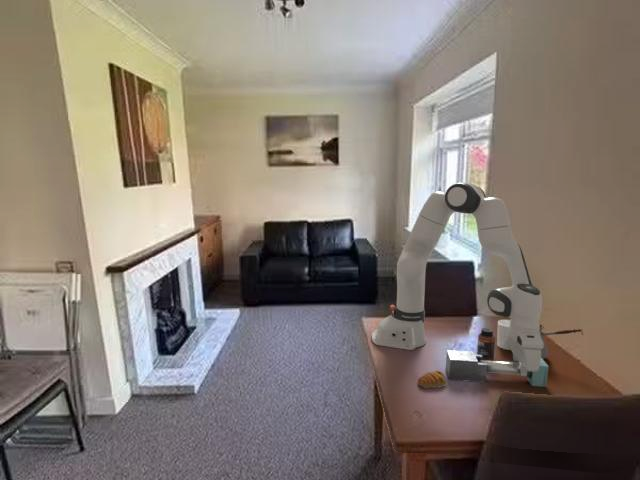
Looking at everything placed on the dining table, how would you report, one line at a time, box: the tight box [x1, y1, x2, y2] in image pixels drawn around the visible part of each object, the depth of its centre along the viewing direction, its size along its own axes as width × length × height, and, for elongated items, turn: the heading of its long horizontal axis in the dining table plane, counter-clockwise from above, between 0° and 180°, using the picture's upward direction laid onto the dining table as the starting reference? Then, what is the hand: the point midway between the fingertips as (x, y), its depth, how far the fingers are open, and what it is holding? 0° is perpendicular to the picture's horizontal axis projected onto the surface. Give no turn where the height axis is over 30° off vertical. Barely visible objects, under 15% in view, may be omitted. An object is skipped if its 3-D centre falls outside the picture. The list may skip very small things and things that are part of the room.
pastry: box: [417, 370, 448, 389], centre depth 133 cm, size 9×7×4 cm
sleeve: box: [445, 349, 488, 383], centre depth 138 cm, size 12×7×7 cm, turn 82°
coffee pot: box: [539, 323, 584, 360], centre depth 148 cm, size 21×12×15 cm, turn 53°
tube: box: [479, 359, 532, 378], centre depth 136 cm, size 19×5×5 cm, turn 82°
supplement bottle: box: [476, 327, 496, 361], centre depth 151 cm, size 6×6×11 cm
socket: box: [525, 358, 550, 388], centre depth 135 cm, size 4×7×7 cm, turn 172°
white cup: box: [496, 319, 511, 351], centre depth 160 cm, size 8×8×10 cm
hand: (519, 370), depth 135 cm, fingers open, 5 cm apart
